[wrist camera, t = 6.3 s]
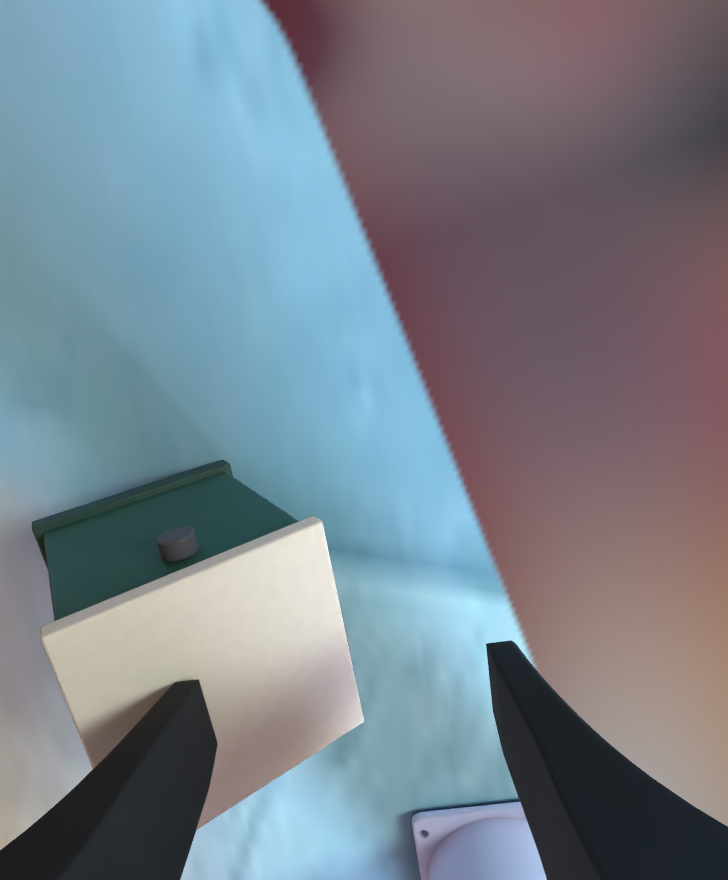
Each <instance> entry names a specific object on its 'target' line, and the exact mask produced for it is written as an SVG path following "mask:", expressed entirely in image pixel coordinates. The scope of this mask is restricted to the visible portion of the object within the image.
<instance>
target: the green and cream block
mask: <svg viewBox="0 0 728 880" xmlns="http://www.w3.org/2000/svg"><path fill="white" fill-rule="evenodd" d="M32 530H33V533H34V535H35V538H36V540H37V543H38V546H39V548H40V551H41V553H42V556H43V559H44V561H45V564H46V566H47V569H48V574H49V581H50V589H51V597H52V605H53V612H54V620H55V621H54V622H52V623H49V624H47V625H44V626H42V627H41V628H40V634H41V642H42V644H43V647H44V649H45V651H46V654H47V656H48V659H49V661H50V664H51V666H52V669H53V671H54V674H55V676H56V679H57V681H58V683H59V686H60V688H61V691H62V693H63V696H64V698H65V701H66V703H67V706H68V708H69V711H70V713H71V716H72V718H73V720H74V723H75V725H76V728H77V730H78V733H79V735H80V738H81V740H82V743H83V745H84V748H85V750H86V753H87V755H88V757H89V760H90V762H91V765H92V767H93V769H94V768H95V767H96V766H97V765H98V764H99V763H100V762H101V761H102V760H103V759H104V758H105V757H106V756H107V755H108V754H109V753H110V752H111V751H112V750H113V749H114V748H115V747H116V746H117V745H118V743H119V742H120V741H121V740H122V739H123V738H124V737H125V736H126V735H127V734H128V733H129V732H130V731H131V729H132V728H133V727H134V726H135V725H136V724H137V723H138V722H139V721H140V720H141V719H142V718H143V716H144V715H145V714H146V713H147V712H148V711H149V710H150V709H151V708H152V707H153V705H154V704H155V703H156V702H157V701H158V700H159V699H160V698H161V697H162V696H163V694H164V693H165V692H166V691H167V690H168V689H169V688H170V687H171V686H172V685H173V684H174V683H175V682H181V681H189V680H197V679H199V682H200V685H201V688H202V692H203V695H204V698H205V702H206V705H207V709H208V712H209V715H210V719H211V722H212V726H213V729H214V732H215V736H216V739H217V743H218V746H217V751H216V757H215V762H214V768H213V773H212V777H211V782H210V787H209V790H208V794H207V797H206V800H205V804H204V807H203V810H202V813H201V816H200V819H199V823H198V826H197V829H198V828H200V827H202V826H203V825H205V824H206V823H208V822H209V821H211V820H212V819H214V818H215V817H217V816H219V815H220V814H222V813H223V812H225V811H226V810H228V809H229V808H231V807H233V806H234V805H236V804H237V803H239V802H240V801H242V800H243V799H245V798H247V797H248V796H250V795H251V794H253V793H254V792H256V791H257V790H259V789H261V788H262V787H264V786H265V785H267V784H268V783H270V782H271V781H273V780H274V779H276V778H278V777H279V776H281V775H282V774H284V773H285V772H287V771H288V770H290V769H292V768H293V767H295V766H296V765H298V764H299V763H301V762H302V761H304V760H306V759H307V758H309V757H310V756H312V755H313V754H315V753H316V752H318V751H320V750H321V749H323V748H324V747H326V746H327V745H329V744H330V743H332V742H333V741H335V740H337V739H338V738H340V737H341V736H343V735H344V734H346V733H347V732H349V731H351V730H352V729H354V728H355V727H357V726H358V725H360V724H361V723H363V722H364V718H363V713H362V708H361V703H360V699H359V694H358V689H357V684H356V680H355V675H354V670H353V665H352V661H351V656H350V651H349V646H348V642H347V637H346V632H345V627H344V622H343V618H342V613H341V608H340V603H339V599H338V594H337V589H336V584H335V580H334V575H333V570H332V565H331V561H330V556H329V551H328V546H327V542H326V537H325V532H324V527H323V523H322V521H321V520H319V519H318V518H316V517H314V516H311V517H309V518H306V519H304V520H301V521H297V520H296V519H294V518H293V517H291V516H290V515H288V514H287V513H286V512H284V511H283V510H281V509H280V508H278V507H277V506H275V505H274V504H272V503H271V502H269V501H268V500H266V499H265V498H263V497H262V496H260V495H259V494H257V493H256V492H254V491H253V490H251V489H250V488H248V487H247V486H245V485H244V484H242V483H241V482H239V481H238V480H236V479H235V478H233V475H232V471H231V467H230V464H229V463H227V462H226V461H224V460H221V461H218V462H215V463H212V464H209V465H205V466H202V467H199V468H196V469H193V470H190V471H187V472H184V473H181V474H178V475H175V476H172V477H168V478H165V479H162V480H159V481H156V482H153V483H150V484H147V485H144V486H141V487H138V488H135V489H132V490H128V491H125V492H122V493H119V494H116V495H113V496H110V497H107V498H104V499H101V500H98V501H95V502H91V503H88V504H85V505H82V506H79V507H76V508H73V509H70V510H67V511H64V512H61V513H58V514H55V515H51V516H48V517H45V518H42V519H39V520H36V521H33V522H32ZM197 829H196V830H197Z"/></svg>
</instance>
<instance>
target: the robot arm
mask: <svg viewBox="0 0 728 880" xmlns="http://www.w3.org/2000/svg"><path fill="white" fill-rule="evenodd" d="M486 647H487V657H488V666H489V676H490V686H491V695H492V705H493V713H494V717H495V721H496V725H497V730H498V734H499V738H500V742H501V746H502V750H503V754H504V757H505V760H506V763H507V765H508V768H509V771H510V774H511V777H512V780H513V783H514V785H515V788H516V791H517V794H518V797H519V799H520V801H519V802H510V803H501V804H491V805H482V806H473V807H463V808H454V809H445V810H436V811H426V812H419V813H416V814H415V815H414V816H413V817H412V829H413V835H414V840H415V846H416V852H417V858H418V864H419V870H420V876H421V880H728V827H727V826H725V825H724V824H722V823H720V822H719V821H717V820H715V819H714V818H712V817H710V816H709V815H707V814H706V813H704V812H702V811H701V810H699V809H697V808H695V807H694V806H692V805H691V804H689V803H688V802H686V801H685V800H684V799H682V798H681V797H679V796H678V795H676V794H675V793H673V792H672V791H670V790H669V789H667V788H666V787H664V786H663V785H662V784H660V783H659V782H657V781H656V780H654V779H653V778H652V777H650V776H649V775H648V774H646V773H645V772H644V771H642V770H641V769H640V768H638V767H637V766H636V765H635V764H633V763H632V762H631V761H629V760H628V759H627V758H626V757H625V756H623V755H622V754H621V753H620V752H618V751H617V750H616V749H615V748H614V747H612V746H611V745H610V744H609V743H608V742H607V741H606V740H604V739H603V738H602V737H601V736H600V735H599V734H598V733H596V732H595V731H594V730H593V729H592V728H591V727H590V726H589V725H588V724H587V723H586V722H585V721H584V720H583V719H582V718H581V717H580V716H578V715H577V713H576V712H574V711H573V710H572V708H570V706H568V705H567V703H566V702H565V701H564V700H563V699H562V698H561V697H560V696H559V695H558V694H557V693H556V692H555V691H554V690H553V689H552V688H551V686H550V685H549V684H548V683H547V682H546V681H545V680H544V678H543V677H542V676H541V675H540V674H539V673H538V671H537V670H536V669H535V668H534V667H533V665H532V664H531V663H530V662H529V661H528V659H527V658H526V657H525V655H524V654H523V653H522V652H521V650H520V649H519V647H518V646H517V645H516V644H515V643H514V642H513V641H504V642H496V643H488V644H486ZM217 746H218V743H217V739H216V736H215V732H214V729H213V726H212V722H211V719H210V715H209V712H208V709H207V705H206V702H205V698H204V695H203V692H202V688H201V685H200V682H199V679H197V680H189V681H181V682H175V683H174V684H173V685H172V686H171V687H170V688H169V689H168V690H167V691H166V692H165V693H164V694H163V696H162V697H161V698H160V699H159V700H158V701H157V702H156V703H155V704H154V705H153V707H152V708H151V709H150V710H149V711H148V712H147V713H146V714H145V715H144V716H143V718H142V719H141V720H140V721H139V722H138V723H137V724H136V725H135V726H134V727H133V728H132V729H131V731H130V732H129V733H128V734H127V735H126V736H125V737H124V738H123V739H122V740H121V741H120V742H119V743H118V745H117V746H116V747H115V748H114V749H113V750H112V751H111V752H110V753H109V754H108V755H107V756H106V757H105V758H104V759H103V760H102V761H101V762H100V763H99V764H98V765H97V766H96V767H95V768H94V769H93V770H92V771H91V772H90V773H89V774H88V775H87V776H86V777H85V778H84V779H83V780H82V781H81V782H80V783H79V784H78V785H77V786H76V787H75V788H74V789H73V790H72V791H70V792H69V793H68V794H67V795H66V796H65V797H64V798H63V799H62V800H61V801H60V802H58V803H57V804H56V805H55V806H54V807H53V808H52V809H50V810H49V811H48V812H47V813H46V814H45V815H44V816H42V817H41V818H40V819H39V820H38V821H37V822H35V823H34V824H33V825H32V826H31V827H29V828H28V829H27V830H26V831H25V832H23V833H22V834H21V835H19V836H18V837H17V838H16V839H14V840H13V841H12V842H10V843H9V844H8V845H7V846H5V847H4V848H3V849H2V850H0V880H180V879H181V875H182V872H183V869H184V866H185V863H186V860H187V857H188V854H189V851H190V847H191V844H192V841H193V838H194V835H195V832H196V829H197V826H198V823H199V819H200V816H201V813H202V810H203V807H204V804H205V800H206V797H207V794H208V790H209V787H210V782H211V777H212V773H213V768H214V762H215V757H216V751H217Z"/></svg>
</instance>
